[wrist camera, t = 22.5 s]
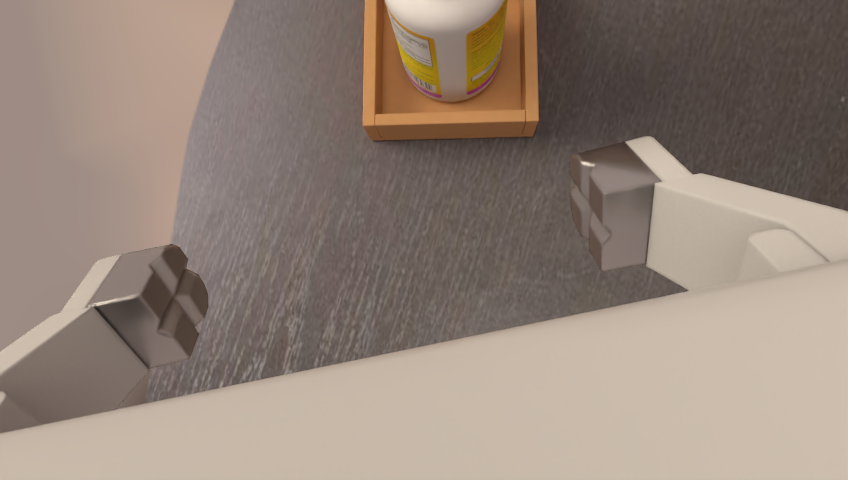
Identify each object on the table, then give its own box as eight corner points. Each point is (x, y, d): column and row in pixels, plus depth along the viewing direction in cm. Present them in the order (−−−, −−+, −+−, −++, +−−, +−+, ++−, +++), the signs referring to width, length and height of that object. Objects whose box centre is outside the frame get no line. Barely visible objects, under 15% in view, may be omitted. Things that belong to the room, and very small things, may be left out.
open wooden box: (371, 140, 34) (362, 125, 31) (373, -8, 36) (365, -36, 33) (532, 136, 33) (539, 121, 30) (529, -16, 35) (534, -45, 32)
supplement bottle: (499, 12, 34) (518, -159, 21) (500, 104, 33) (521, -17, 20) (404, 16, 35) (367, -148, 22) (402, 106, 34) (363, -9, 21)
